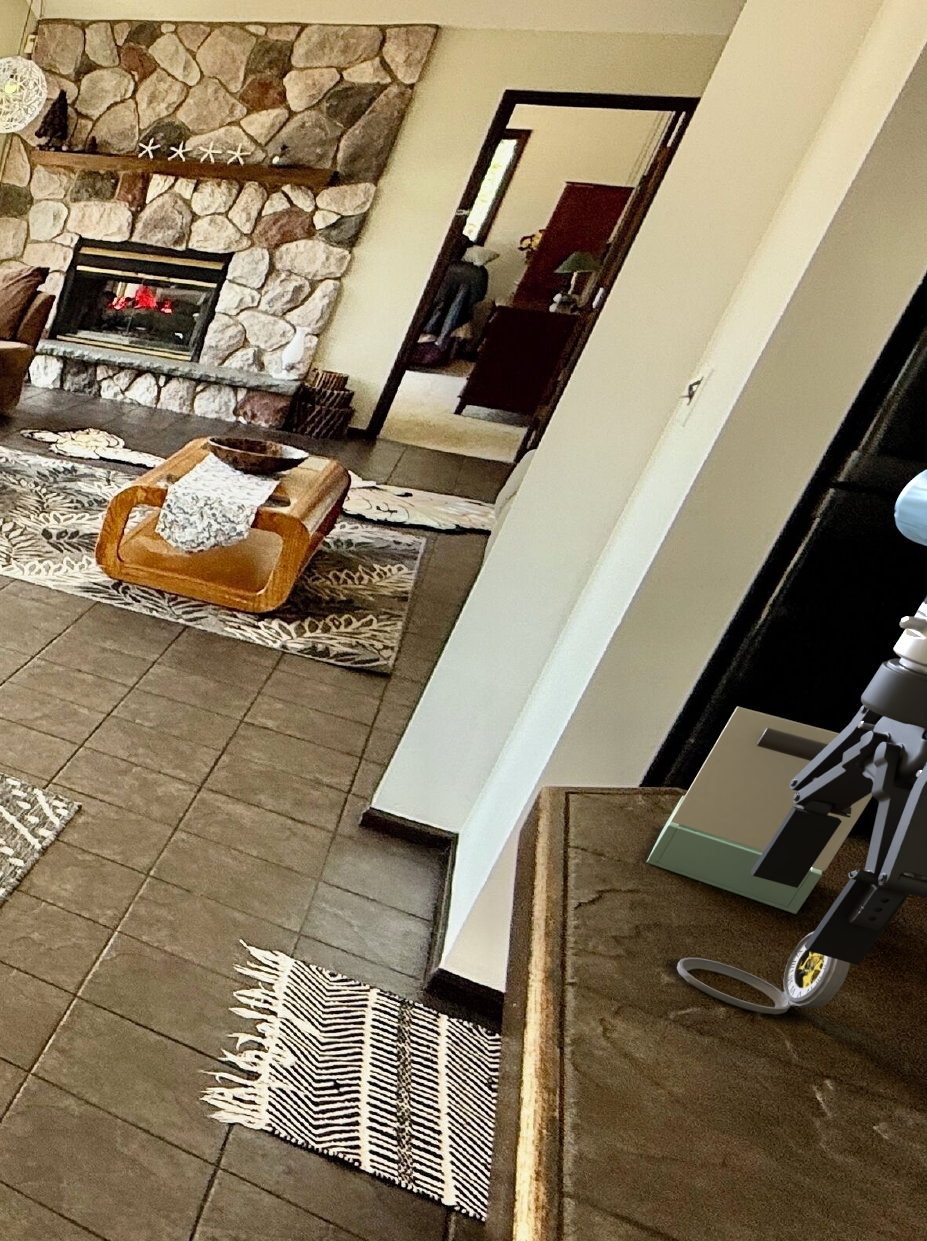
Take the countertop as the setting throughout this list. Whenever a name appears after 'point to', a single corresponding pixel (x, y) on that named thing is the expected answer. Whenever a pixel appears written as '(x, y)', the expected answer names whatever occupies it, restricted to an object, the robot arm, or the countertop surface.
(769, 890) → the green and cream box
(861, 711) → the robot arm
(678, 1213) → the countertop surface
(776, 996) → the pocket watch
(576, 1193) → the countertop surface
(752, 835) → the cream coin bank
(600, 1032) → the countertop surface
